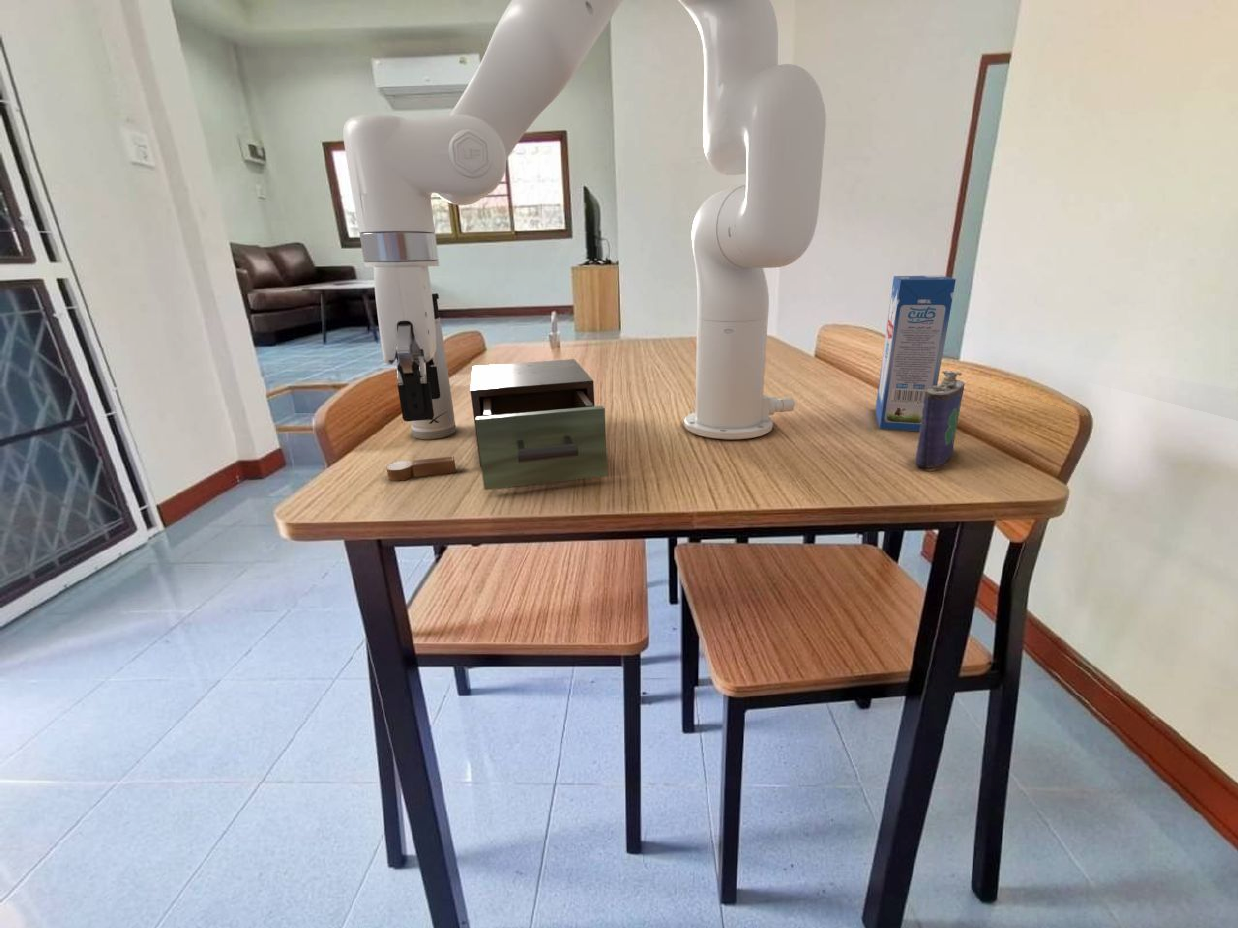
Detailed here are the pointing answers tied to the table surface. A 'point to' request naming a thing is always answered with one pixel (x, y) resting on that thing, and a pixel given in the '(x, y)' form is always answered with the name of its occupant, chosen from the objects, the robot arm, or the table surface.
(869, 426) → the table surface
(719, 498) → the table surface
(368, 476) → the table surface
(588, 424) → the drawer
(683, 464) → the table surface
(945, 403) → the flask
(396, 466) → the round-ended wooden bar
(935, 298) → the milk carton
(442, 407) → the travel mug
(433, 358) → the robot arm
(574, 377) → the cabinet
